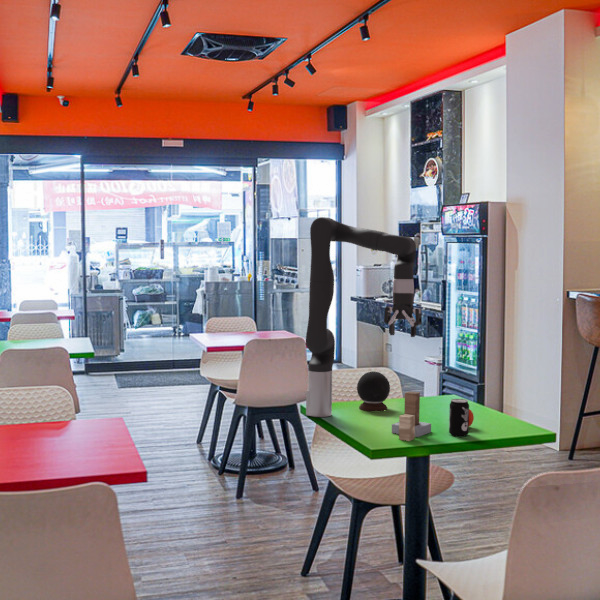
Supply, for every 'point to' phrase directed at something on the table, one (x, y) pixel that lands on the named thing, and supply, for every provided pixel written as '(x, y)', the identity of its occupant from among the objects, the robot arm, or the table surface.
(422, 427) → the socket block
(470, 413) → the apple
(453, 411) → the beverage can
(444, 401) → the table surface
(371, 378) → the dark ball
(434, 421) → the table surface
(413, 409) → the walnut peg
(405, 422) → the birch peg
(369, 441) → the table surface
